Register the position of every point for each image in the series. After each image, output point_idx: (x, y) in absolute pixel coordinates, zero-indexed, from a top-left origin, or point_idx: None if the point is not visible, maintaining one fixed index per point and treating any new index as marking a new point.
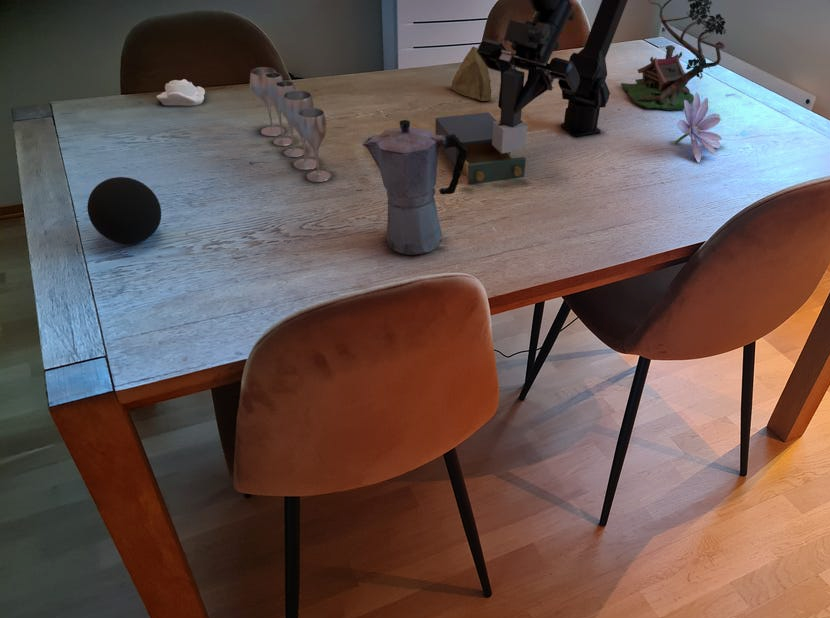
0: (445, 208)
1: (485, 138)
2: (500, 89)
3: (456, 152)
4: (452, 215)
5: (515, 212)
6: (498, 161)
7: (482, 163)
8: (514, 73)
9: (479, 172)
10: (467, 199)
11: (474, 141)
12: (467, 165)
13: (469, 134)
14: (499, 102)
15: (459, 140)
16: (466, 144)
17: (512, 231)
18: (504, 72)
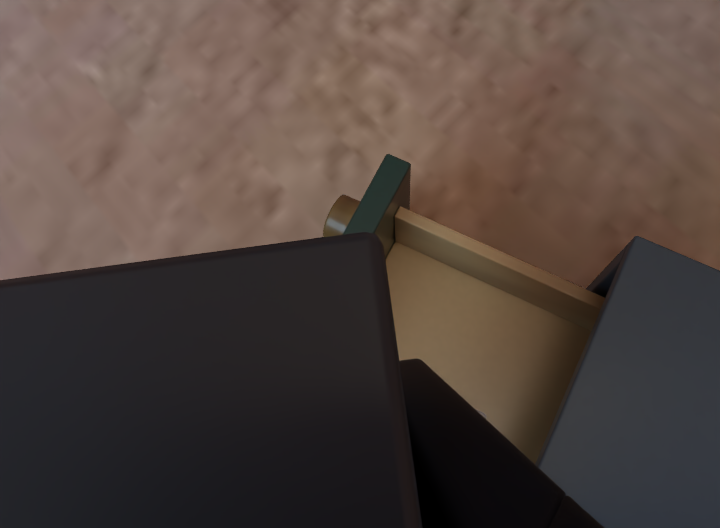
0: (352, 40)
1: (565, 465)
2: (509, 452)
3: (613, 261)
4: (289, 24)
5: (95, 232)
6: None
7: (352, 227)
8: (27, 446)
9: (345, 210)
10: (339, 160)
11: (582, 363)
12: (469, 237)
13: (704, 424)
14: (415, 371)
15: (659, 284)
16: (601, 310)
17: (19, 108)
18: (346, 260)
